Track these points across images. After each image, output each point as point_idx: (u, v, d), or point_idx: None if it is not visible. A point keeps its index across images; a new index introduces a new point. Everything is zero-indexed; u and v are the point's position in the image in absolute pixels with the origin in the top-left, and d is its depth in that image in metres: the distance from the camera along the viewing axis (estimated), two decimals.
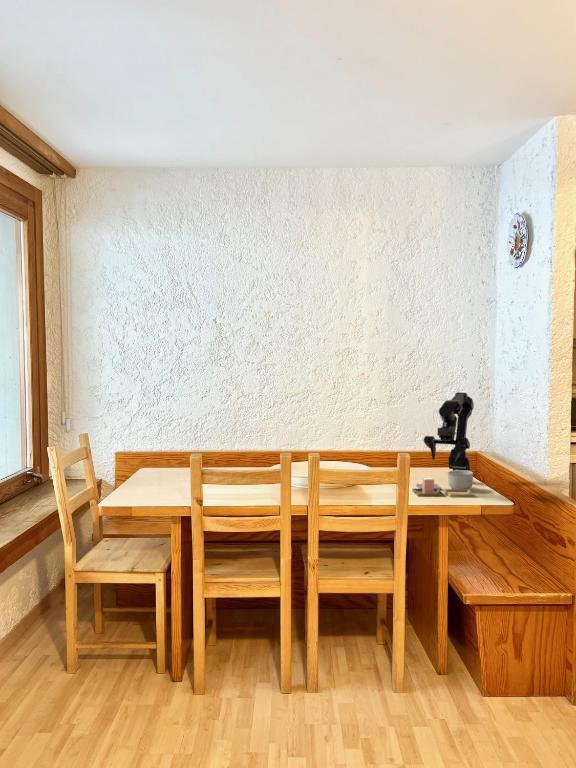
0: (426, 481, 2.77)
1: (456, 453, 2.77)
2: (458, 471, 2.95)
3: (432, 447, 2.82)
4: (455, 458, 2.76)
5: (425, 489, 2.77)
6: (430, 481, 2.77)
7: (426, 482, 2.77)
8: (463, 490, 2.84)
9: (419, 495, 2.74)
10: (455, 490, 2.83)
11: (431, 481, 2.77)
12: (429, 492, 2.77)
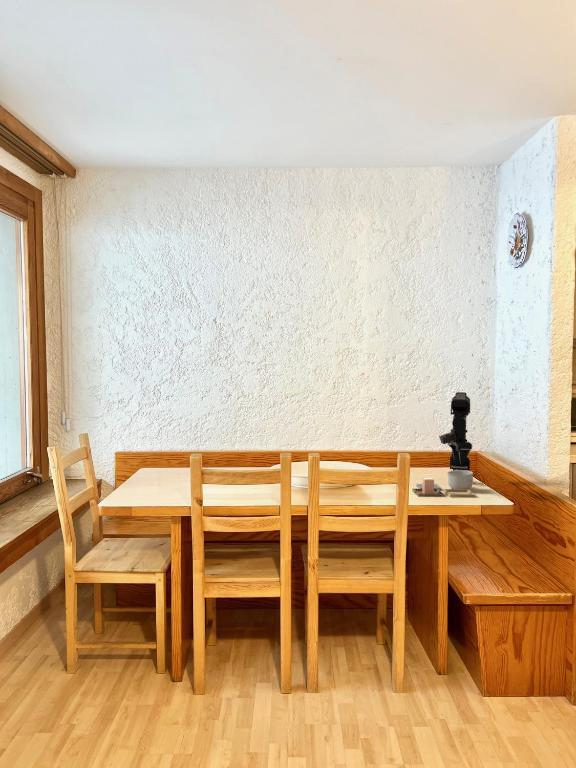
0: (426, 481, 2.77)
1: (459, 457, 2.85)
2: (458, 471, 2.95)
3: (452, 449, 2.95)
4: (460, 462, 2.85)
5: (425, 489, 2.77)
6: (430, 481, 2.77)
7: (426, 482, 2.77)
8: (463, 490, 2.84)
9: (419, 495, 2.74)
10: (455, 490, 2.83)
11: (431, 481, 2.77)
12: (429, 492, 2.77)
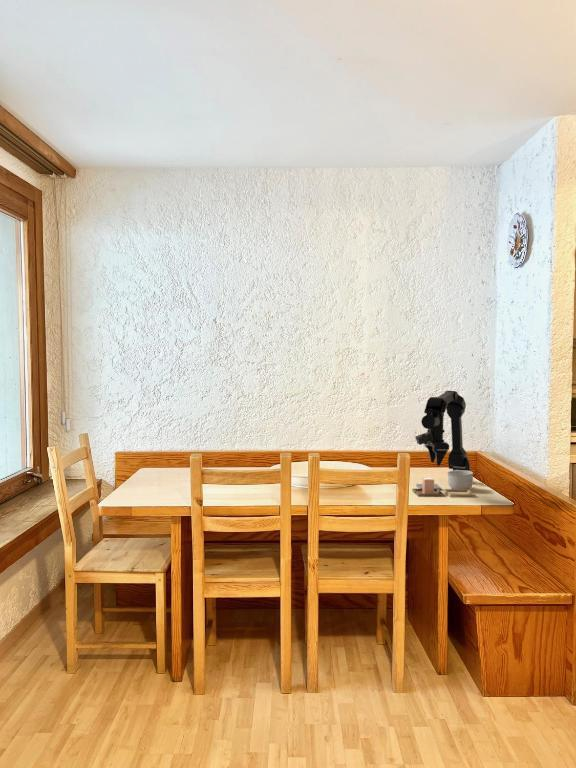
0: (426, 481, 2.77)
1: (436, 458, 2.73)
2: (458, 471, 2.95)
3: (428, 450, 2.83)
4: None
5: (425, 489, 2.77)
6: (430, 481, 2.77)
7: (426, 482, 2.77)
8: (463, 490, 2.84)
9: (419, 495, 2.74)
10: (455, 490, 2.83)
11: (431, 481, 2.77)
12: (429, 492, 2.77)
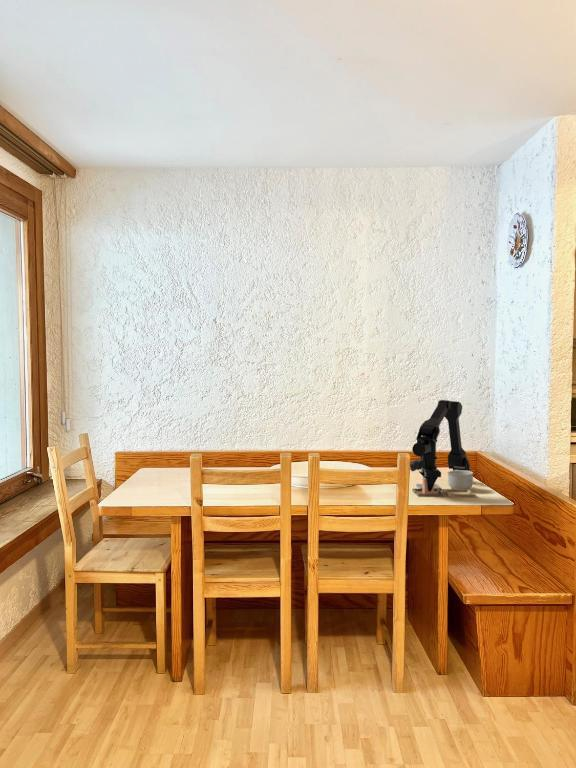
0: (426, 481, 2.77)
1: (427, 484, 2.76)
2: (458, 471, 2.95)
3: (423, 476, 2.82)
4: None
5: (425, 489, 2.77)
6: None
7: (426, 482, 2.77)
8: (463, 490, 2.84)
9: (419, 495, 2.74)
10: (455, 490, 2.83)
11: None
12: (429, 492, 2.77)
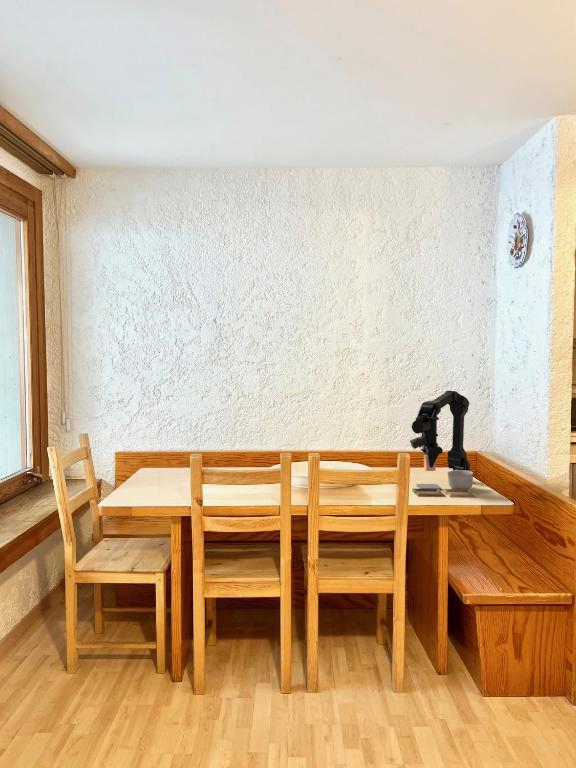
0: None
1: (429, 460, 2.84)
2: (458, 471, 2.95)
3: (424, 453, 2.90)
4: None
5: (427, 465, 2.85)
6: None
7: (428, 459, 2.85)
8: (463, 490, 2.84)
9: (419, 495, 2.74)
10: (455, 490, 2.83)
11: None
12: (431, 468, 2.85)
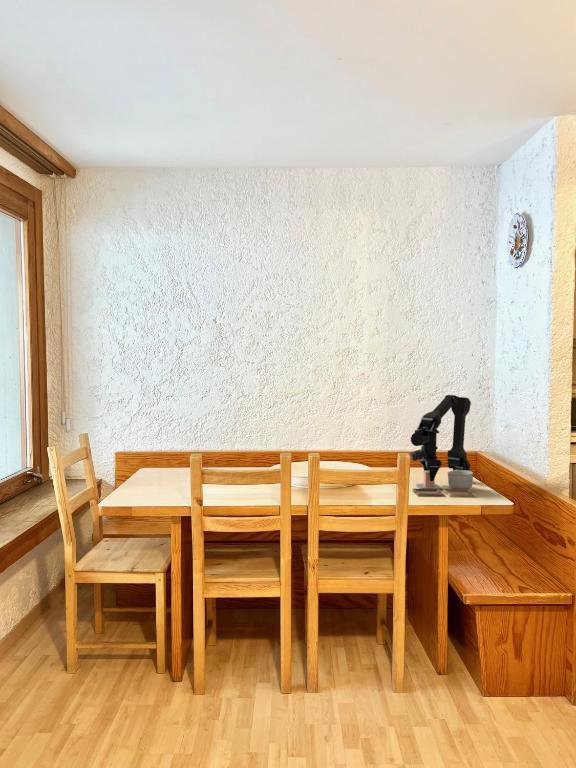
0: (427, 474, 2.88)
1: (429, 474, 2.85)
2: (458, 471, 2.95)
3: (423, 465, 2.95)
4: (430, 479, 2.85)
5: (426, 481, 2.88)
6: None
7: (427, 475, 2.88)
8: (463, 490, 2.84)
9: (419, 495, 2.74)
10: (455, 490, 2.83)
11: None
12: (430, 484, 2.88)
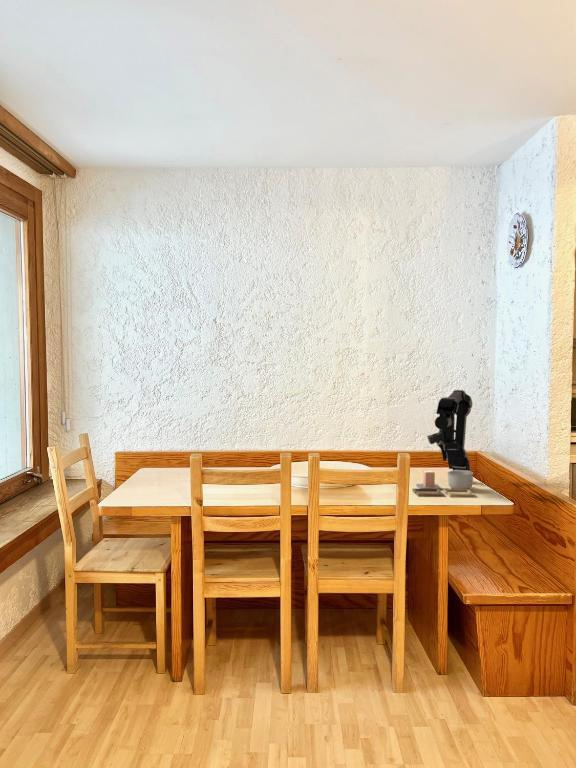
0: (427, 474, 2.88)
1: (447, 457, 2.82)
2: (458, 471, 2.95)
3: (441, 449, 2.92)
4: None
5: (426, 481, 2.88)
6: (431, 474, 2.88)
7: (427, 475, 2.88)
8: (463, 490, 2.84)
9: (419, 495, 2.74)
10: (455, 490, 2.83)
11: (432, 474, 2.88)
12: (430, 484, 2.88)
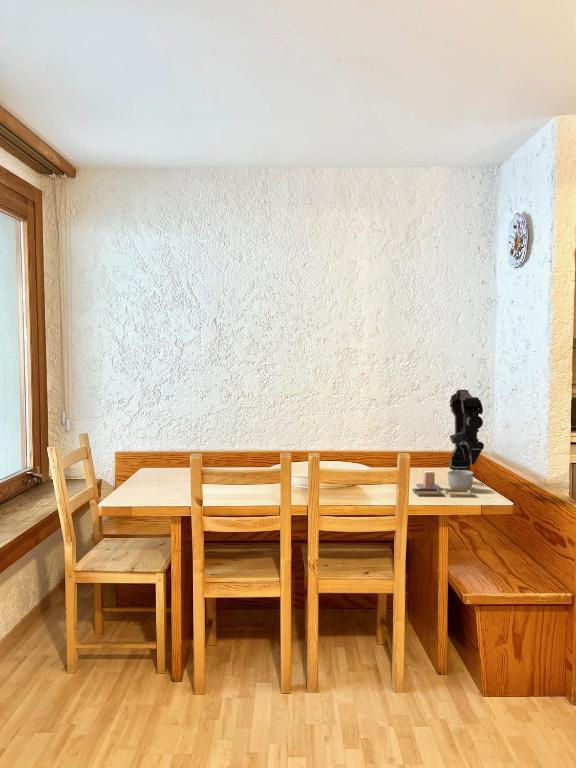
0: (427, 474, 2.88)
1: (471, 457, 2.79)
2: (458, 471, 2.95)
3: (462, 448, 2.89)
4: (471, 462, 2.79)
5: (426, 481, 2.88)
6: (431, 474, 2.88)
7: (427, 475, 2.88)
8: (463, 490, 2.84)
9: (419, 495, 2.74)
10: (455, 490, 2.83)
11: (432, 474, 2.88)
12: (430, 484, 2.88)
